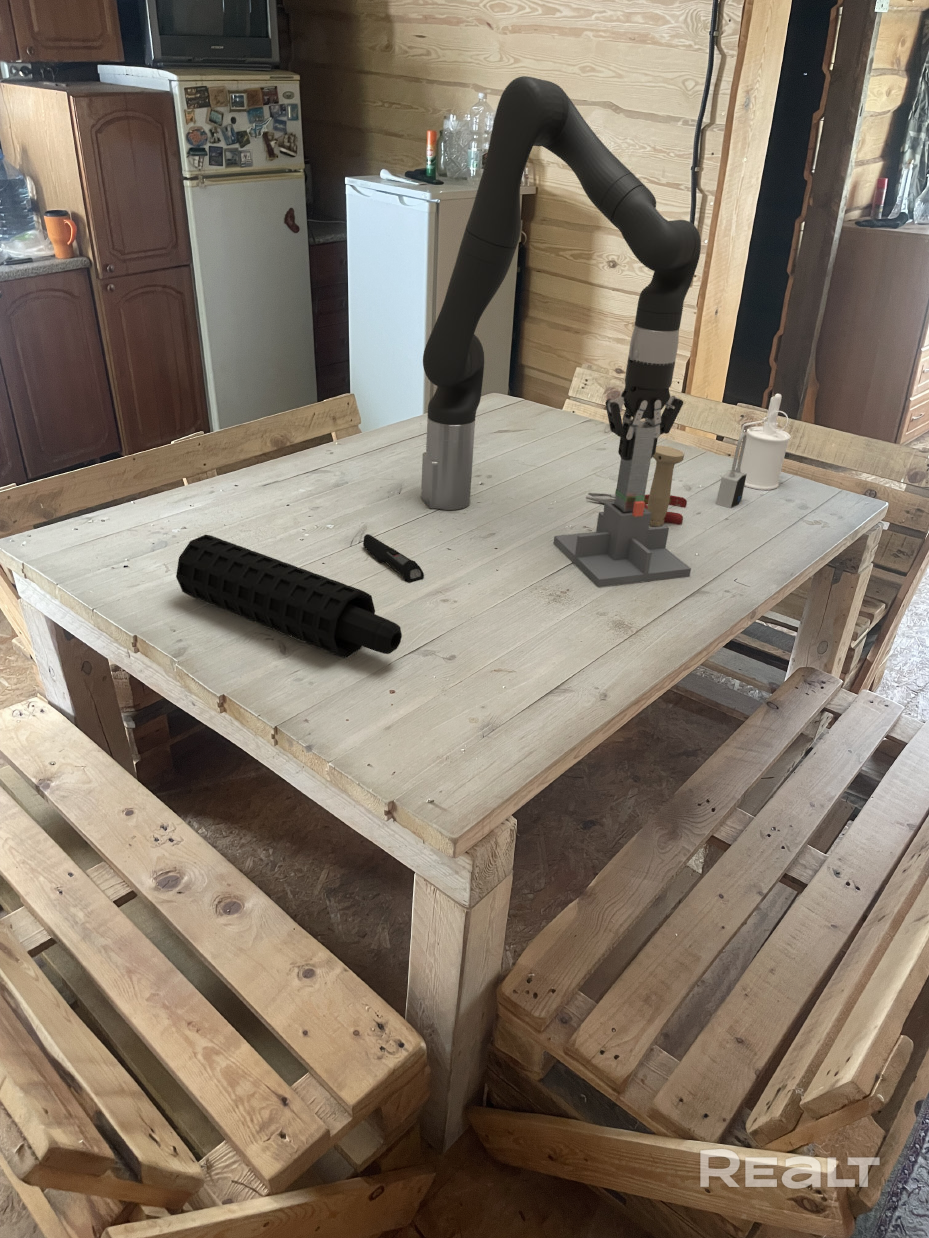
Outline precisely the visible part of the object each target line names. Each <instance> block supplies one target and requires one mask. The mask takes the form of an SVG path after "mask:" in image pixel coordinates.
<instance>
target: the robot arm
mask: <svg viewBox="0 0 929 1238" xmlns="http://www.w3.org/2000/svg"><path fill="white" fill-rule="evenodd" d="M497 103H498V104H497V107H496V111H495V115H494V118H493V119H494V120H493V124H492V129H491V133H490V140H489V144H488V149H487V153H486V158H485V162H484V167H483V169H482V173H481V176H480V181H479V183H478V187H477V190H476V194H475V197H474V202H473V205H472V208H471V211H470V214H469V217H468V220H467V223H466V225H465V229H464V232H463V236H462V239H461V242H460V246H459V249H458V253H457V256H456V259H455V263H454V267H453V270H452V274H451V276H450V278H449V279H450V280H449V282H448V285H447V286H448V287H447V289H446V293H445V296H444V301H443V303H442V306H441V309H440V311H439V313H438V316H437V319H436V321H435V323H434V326H433V328H432V330H431V333H430V335H429V338H428V340H427V342H426V344H425V347H424V351H423V354H422V355H423V356H422V366H423V371H424V374H425V375H426V378H427V379H428V380H429V381H430V383H431V384H433V385H435V386H436V390H435V392H434V394H433V395H432V397H431V398H430V400H429V401H428V404H427V419H426V422H427V424H426V443H425V447H426V448H425V452H423V453H422V460H421V462H422V463H421V465H422V466H421V483H420V484H421V485H420V486H421V487H420V488H421V491H420V499H422V500H423V502H424V503H425V505H426V506H427V507H428V509H431V510H432V509H437V510H445V511H453V510H461V509H465V508H466V507H468V506H469V505H470V503H471V496H472V494H471V491H472V488H471V487H472V476H473V459H474V447H475V446H474V444H475V431H476V430H475V428H476V416H477V415H476V414H477V410H478V407H479V405H480V403H481V399H482V398H481V397H482V390H483V382H484V372H485V371H484V370H485V351H484V348H483V347H484V346H483V345H482V342H481V340H480V339H479V338H478V336H477V335H476V334H475V332H476V329H477V326H478V324H479V321H480V319H481V317H482V315H483V314H484V312H485V311H486V309H487V308H488V305H489V304H490V302H491V301H492V300H493V298H495V297H494V296H495V295H496V294H497V293H498V290H499V289H500V287H501V285H502V283H503V282H504V280H505V278H506V276H507V274H508V272H509V270H510V267H511V264H512V262H513V258H514V256H515V253H516V250H517V247H518V244H519V241H520V236H521V231H522V230H521V229H522V214H521V213H522V212H521V184H522V179H523V175H524V172H525V169H526V166H527V163H528V160H529V157H530V156H531V155H530V154H531V152H532V150H533V148H534V147H542V148H545V149H546V150H547V151H550V152H551V153H552V154H554V155H555V156H557V157H558V158H559V159H561V160H562V161H563V162H564V163H565V164H566V165H567V166H568V167H569V168H570V169H571V171H572V172H573V173H574V174H575V176H576V178H577V180H578V181H579V183H580V185H581V188H582V189H583V191H584V193H585V194H586V196H587V198H588V199H589V200H590V202H591V203H592V204H593V205H594V206H595V208H597V210H598V211H599V212H600V213H601V214H602V215H603V217H605V218H606V219H607V221H609V223H611V224H612V225H613V226H614V227H616V229H617V230H618V231H619V232H620V234H621V235H622V238H623V240H624V241H625V243H626V244H627V246H628V247H629V250H631V252H632V253H633V255H634V257H635V258H636V259H637V260H638V261H639V262H640V263H641V264H642V265H643V266H645V268H647V269H648V270H651V271H653V275H652V277H651V281H650V282H649V284H648V285H647V286H645V287H644V288H643V289H642V290H641V291H640V293H639V297H638V302H637V306H636V307H637V308H636V314H635V320H634V326H633V331H632V333H631V338H630V343H629V350H628V355H627V356H628V357H627V363H626V370H625V376H624V385H625V386H624V389H623V391H622V393H621V395H620V397H617V398H614V399H610V398H608V399H606V400H605V408H606V412H607V418H608V424H609V429H610V432H611V433H612V434H613V433H614V434H615V435H616V436H618V437H619V445H618V446H619V447H618V451H617V452H618V455H619V456H620V459H621V458H622V459H623V460H625V461H626V460H630V456H631V450H632V443H633V440H632V439H631V438H632V437H633V434H634V431H635V427H638V426H639V423H640V421H642V420H644V421H646V422H647V423H650V424H651V425H652V426H655V427H656V432H655V438H654V443H653V449H652V455H651V459H653V457H652V456H653V455H654V454H655V452H656V446H658V439H659V438H660V436H662V435H663V434H669V433H670V432H671V430H672V427H673V425H674V423H675V421H676V419H677V417H678V415H679V413H680V411H681V409H682V407H683V405H684V400H682V399H680V398H679V397H676V396H675V395H671V393H670V388H671V386H672V383H673V379H674V378H673V377H674V372H675V366H676V360H677V356H678V355H677V353H678V349H679V348H678V347H679V340H680V339H679V338H680V337H679V336H680V329H681V328H680V327H681V323H682V322H681V321H682V316H683V311H684V310H683V309H684V303H685V299H686V296H687V294H688V292H689V290H690V287H691V284H692V282H693V278H694V276H695V273H696V271H697V266H698V264H699V261H700V256H701V249H702V246H701V245H702V239H701V235H700V231H699V230H698V228H697V226H695V224H694V223H693V222H691V221H689V220H685V219H676V220H668V219H666V218H665V217H664V216H663V215H662V214H660V212H659V211H658V210H657V199H656V197H655V194H653V192H652V191H651V190H650V189H649V188H648V187H647V186H646V185H645V184H644V183H643V182H642V181H641V180H640V179H639V178H638V177H637V175H635V174H634V173H633V172H632V171H631V170H629V168H628V167H626V165H625V164H623V162H621V160H620V159H618V158H617V156H615V154H613V152H612V151H611V150H609V148H608V146H606V145H605V144H604V143H603V141H602V140H601V139H600V138H599V136H597V134H596V133H595V132H594V131H593V130H592V128H591V127H590V125H589V124H588V122H587V121H586V120H585V119H584V117H583V116H582V114H581V113H580V112H579V111H580V110H578V109H577V107H576V105H575V104H574V102H573V101H572V99H571V98H570V97H569V96H568V94H567V93H566V92H565V91H564V89H563V88H562V87H561V86H560V85H559V84H557V83H555V82H552V81H549V80H545V79H541V78H536V77H532V76H528V75H527V76H525V75H522V76H519V77H516V78H514V79H513V80H511V81H510V82H509V83H508V85H507V86H506V87H505V88H504V90H503V92H502V93H501V96H500V99H499V100H498V102H497ZM623 406H624V407H625V410H624V413H623V414H621V412H622V411H623ZM662 409H663V412H662ZM661 412H662V413H661ZM621 415H623V416H621Z"/></svg>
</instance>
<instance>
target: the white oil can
mask: <svg viewBox="0 0 929 1238" xmlns="http://www.w3.org/2000/svg"><path fill="white" fill-rule="evenodd" d="M781 402H782V394H781V393H776V394H775V395H774V396H772V397H771V398H770V401H769V404H768V405H769V406H768V411H767V415H766V416H765V417H763V418H762V420H758V421H752V422H747V423H744V424H742V427H741V431H740V435H741V434H742V433H745V432H744V431H745V427H746V426H750V427H748V428H747V430H746V435H747V438H746V444H745V449H744V453H743V458H742V462H741V467H740V469H741V472H742V473H746V474H747V475H746V480H745V485H744V487H747V488H750V489H754V490H761V491H771V490H775V489H777V488H778V487H779V486H780V482H779V481H780V477H781V472H782V468H783V464H784V462H785V461H784V459H785V455H786V452H787V448H788V443H789V441H790V440H791V437H792V436H791V434H790V433H788V432H787V431H785V429H786V428H787V427H788V425H789V417H788V414H787V413H786V412H784V411H782V410H780V407H781V404H782V403H781ZM779 413H782V414H783V415H784V416H785V418H786V423H785V425H784V427H782V428H778V425H779V423H778V421H777V419H778V415H779ZM761 423H763V426H752V425H756V424H761ZM739 451H741V448H740V449H739Z"/></svg>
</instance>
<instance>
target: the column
mask: <svg viewBox="0 0 929 1238" xmlns="http://www.w3.org/2000/svg"><path fill="white" fill-rule="evenodd" d="M655 432H656V427H655V426H652V425H651V424H650V423H647V422H646V421H645V420H640V423H639V426H638V427H635V431H634V434H633V437H632V438H631V439H632V440H633V443H632V450H631V456H630V460H626V461H625V460H623V459H622V458H621V457H620V464H619V469H618V476H617V481H616V482H617V483H616V488H615V493H614V494H615V501H614V507H615V508H616V509H618V510H619V511H620V512H621V513H623V514H625V513H633V508H634V502H638V501H643V502H644V499H645V495H646V489H647V484H648V478H649V473H650V472H649V471H650V466H651V462H652V461H651V460H652V458H651V455H652V449H653V443H654V438H655Z"/></svg>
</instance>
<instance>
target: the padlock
mask: <svg viewBox="0 0 929 1238" xmlns="http://www.w3.org/2000/svg"><path fill="white" fill-rule="evenodd" d="M740 434H741V433H740ZM746 438H747V432H743V433H742V434H741V435H740V436H739V437H738V439H737V444H736V446H735V447H736V448H735V451H734V457H733V461H732V467H731V470H728V471H726V472H725V473H724V474H723V475H722V476H721V479H720V484H719V487H718V488H719V489H718V492H717V497H716V501H715V505H717V506H721V507H725V508H728V509H732V508H734V507H736V506H737V505H739V503H740V502H741V501H742V499H743V495H744V490H745V486H744V485H745V480H746V475H747V474H746V473H742V472H741V469H740V467H741V462H742V458H743V453H744V449H745V444H746ZM739 449H740V450H739Z"/></svg>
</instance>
